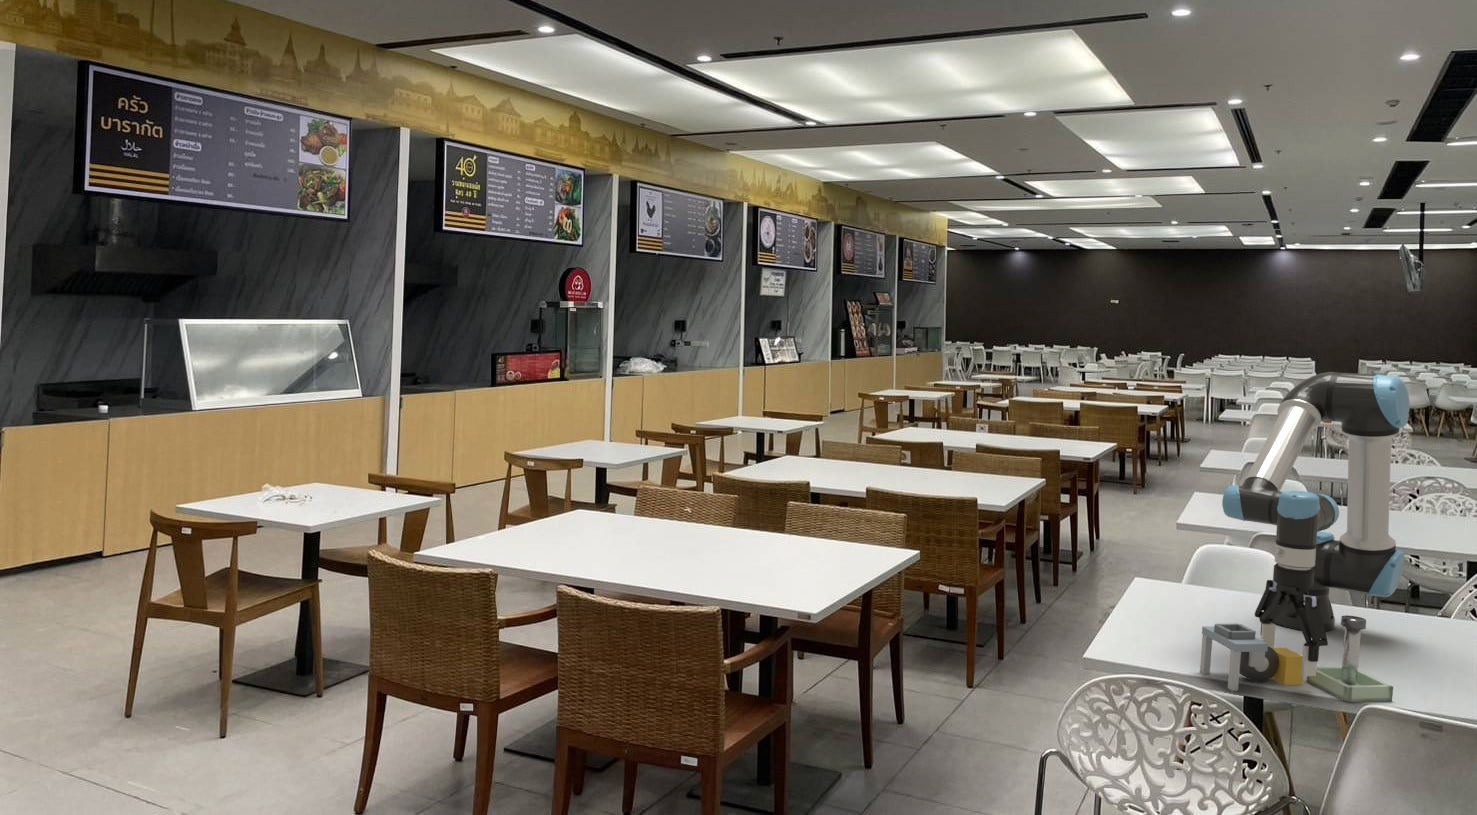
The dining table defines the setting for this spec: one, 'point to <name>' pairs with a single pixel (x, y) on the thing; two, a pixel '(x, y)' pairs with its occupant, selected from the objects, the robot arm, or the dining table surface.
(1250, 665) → the cart
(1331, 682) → the tray
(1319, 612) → the robot arm
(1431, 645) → the dining table surface
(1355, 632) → the pin
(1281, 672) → the block
